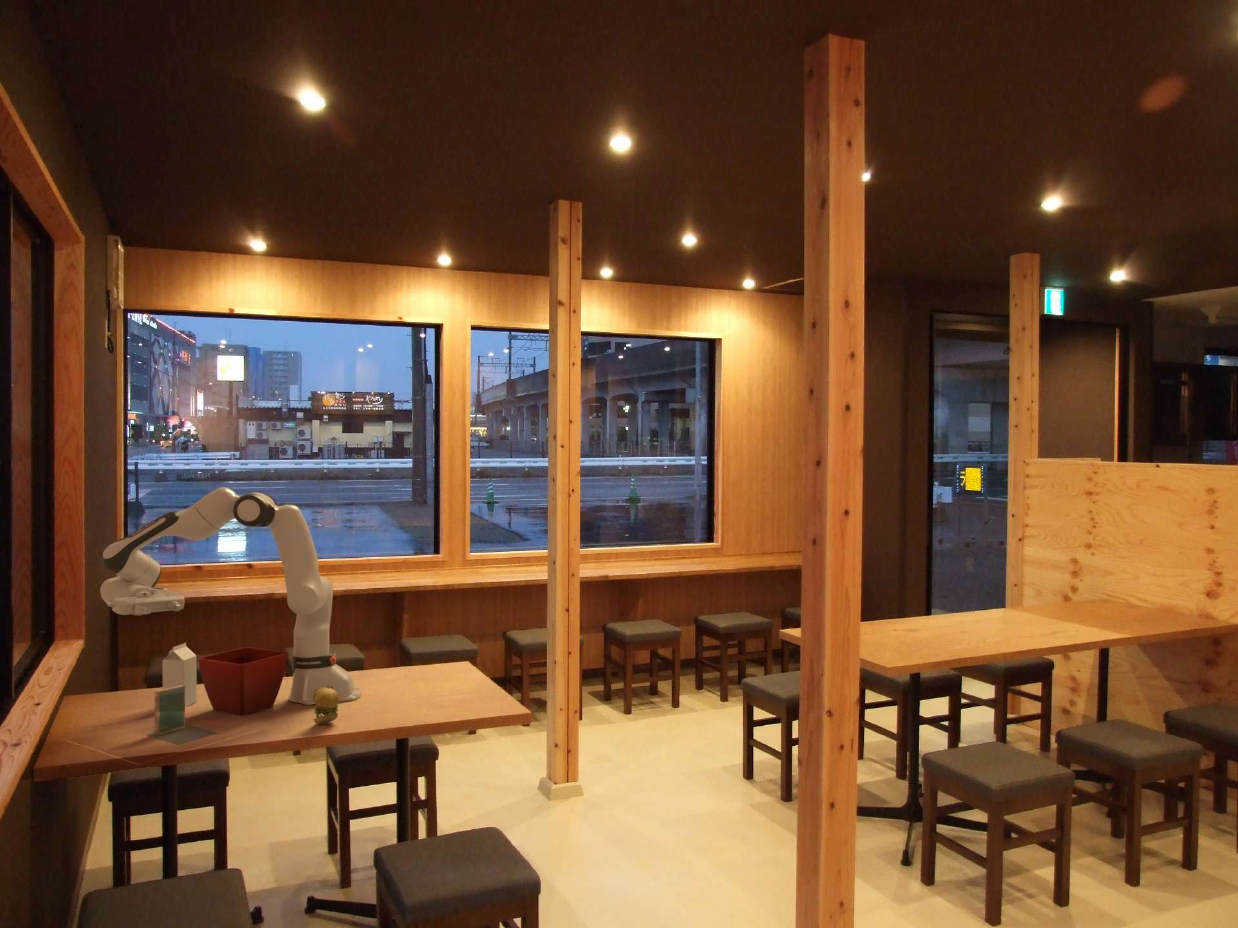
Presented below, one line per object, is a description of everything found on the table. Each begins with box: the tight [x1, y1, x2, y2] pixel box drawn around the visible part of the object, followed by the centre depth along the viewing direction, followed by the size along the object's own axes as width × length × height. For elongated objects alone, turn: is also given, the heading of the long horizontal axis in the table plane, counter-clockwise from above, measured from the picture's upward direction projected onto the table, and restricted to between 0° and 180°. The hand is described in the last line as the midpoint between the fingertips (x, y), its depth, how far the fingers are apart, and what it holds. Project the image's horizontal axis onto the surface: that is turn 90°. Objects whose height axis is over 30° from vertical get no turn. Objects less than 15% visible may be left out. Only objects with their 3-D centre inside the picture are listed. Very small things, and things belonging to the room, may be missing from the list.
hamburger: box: [313, 685, 340, 725], centre depth 267 cm, size 8×7×12 cm
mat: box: [146, 723, 219, 745], centre depth 258 cm, size 16×12×1 cm
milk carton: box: [162, 642, 198, 708], centre depth 289 cm, size 7×7×19 cm
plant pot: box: [198, 646, 289, 716], centre depth 285 cm, size 19×19×17 cm
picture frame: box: [153, 685, 186, 735], centre depth 261 cm, size 2×8×12 cm, turn 146°
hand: (163, 609), depth 273 cm, fingers open, 8 cm apart
